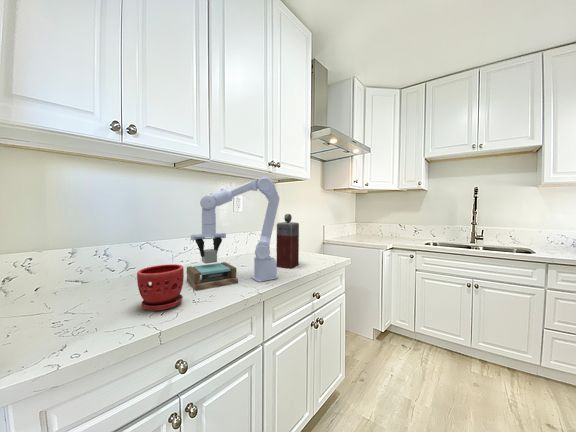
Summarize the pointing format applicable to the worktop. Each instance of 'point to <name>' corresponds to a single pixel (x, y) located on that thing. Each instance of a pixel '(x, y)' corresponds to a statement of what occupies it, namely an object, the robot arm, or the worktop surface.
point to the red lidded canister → (287, 243)
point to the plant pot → (160, 286)
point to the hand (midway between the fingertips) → (208, 255)
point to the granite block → (209, 256)
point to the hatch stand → (194, 281)
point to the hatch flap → (212, 270)
